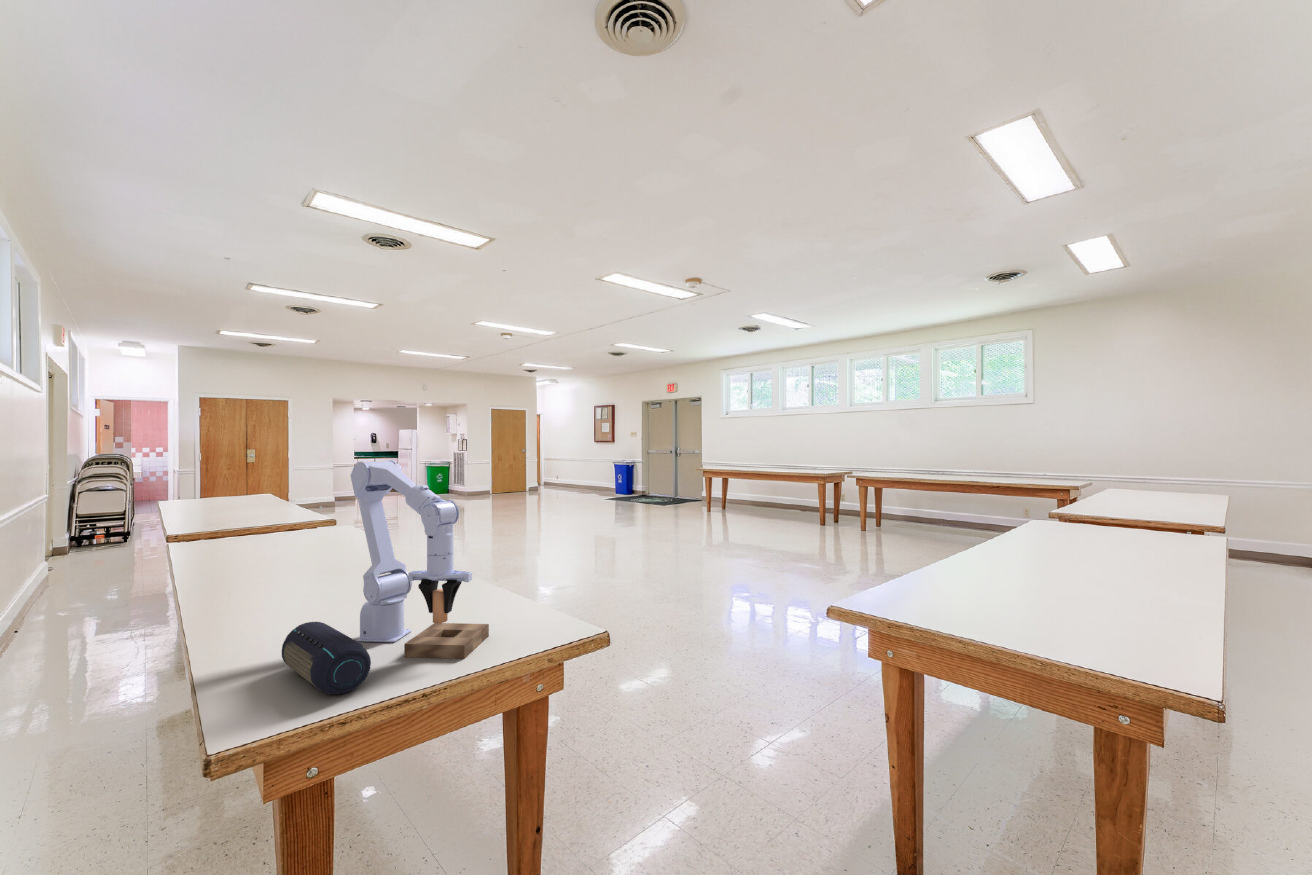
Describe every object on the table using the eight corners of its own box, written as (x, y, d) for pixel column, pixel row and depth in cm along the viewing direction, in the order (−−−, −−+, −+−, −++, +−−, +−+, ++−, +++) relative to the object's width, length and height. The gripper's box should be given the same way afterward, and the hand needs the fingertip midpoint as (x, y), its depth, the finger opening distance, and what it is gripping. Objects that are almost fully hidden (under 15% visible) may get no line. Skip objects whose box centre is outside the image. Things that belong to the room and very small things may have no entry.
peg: (429, 622, 123) (429, 592, 123) (437, 618, 126) (437, 588, 126) (443, 623, 123) (442, 593, 123) (450, 618, 126) (449, 589, 126)
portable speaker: (275, 671, 114) (275, 624, 114) (327, 656, 121) (327, 612, 121) (320, 708, 98) (320, 653, 98) (376, 688, 106) (376, 638, 106)
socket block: (404, 657, 121) (404, 643, 121) (434, 634, 135) (434, 622, 135) (464, 658, 120) (464, 645, 120) (488, 635, 134) (488, 623, 134)
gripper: (400, 556, 121) (400, 616, 121) (462, 557, 120) (462, 618, 120) (417, 550, 128) (417, 606, 128) (475, 551, 127) (476, 608, 127)
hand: (440, 611), depth 125 cm, fingers closed on peg, 3 cm apart
